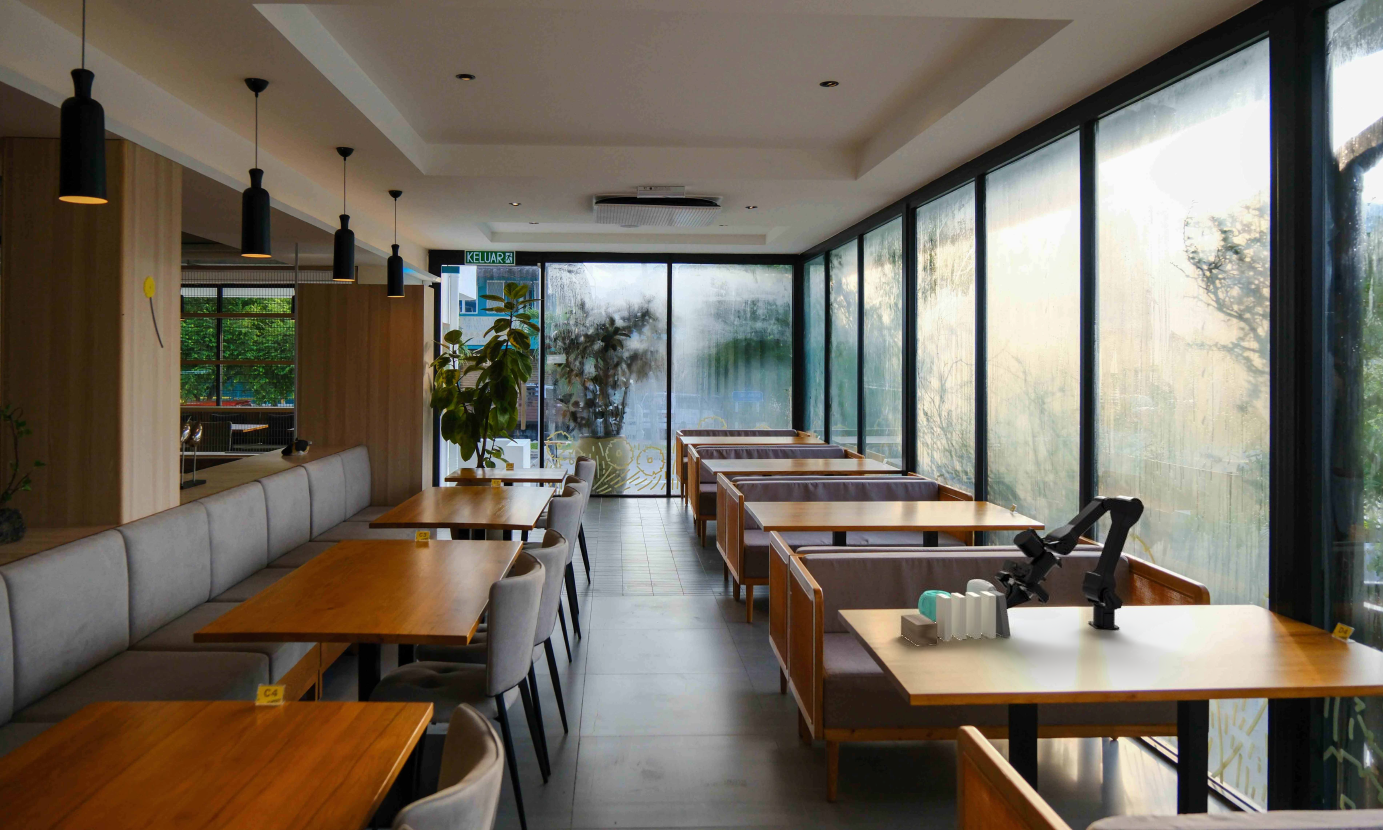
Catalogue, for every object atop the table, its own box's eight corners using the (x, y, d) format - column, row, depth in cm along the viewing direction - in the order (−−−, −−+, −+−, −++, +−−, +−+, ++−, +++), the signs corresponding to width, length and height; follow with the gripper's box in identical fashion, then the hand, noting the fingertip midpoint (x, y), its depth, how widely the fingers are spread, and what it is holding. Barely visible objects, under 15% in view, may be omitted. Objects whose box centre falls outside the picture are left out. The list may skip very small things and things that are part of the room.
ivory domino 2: (957, 634, 238) (957, 592, 238) (966, 639, 233) (966, 596, 233) (950, 634, 238) (950, 593, 238) (959, 640, 233) (959, 597, 233)
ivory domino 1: (942, 635, 237) (942, 593, 237) (951, 640, 232) (951, 597, 232) (936, 635, 237) (936, 593, 237) (944, 641, 232) (944, 598, 232)
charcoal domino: (999, 630, 241) (994, 590, 240) (1010, 635, 236) (1005, 594, 235) (993, 632, 240) (988, 591, 239) (1004, 637, 235) (998, 595, 235)
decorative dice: (956, 620, 253) (956, 594, 253) (938, 624, 249) (938, 597, 248) (935, 614, 260) (935, 588, 259) (917, 618, 255) (917, 592, 255)
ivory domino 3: (971, 633, 239) (972, 591, 239) (981, 638, 234) (981, 596, 234) (965, 634, 239) (965, 592, 238) (974, 639, 234) (974, 596, 233)
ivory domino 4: (986, 632, 240) (986, 591, 240) (995, 637, 235) (996, 595, 235) (979, 633, 240) (980, 591, 239) (989, 638, 235) (989, 595, 234)
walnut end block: (920, 634, 239) (920, 613, 239) (937, 644, 229) (937, 623, 229) (900, 635, 238) (901, 615, 238) (916, 645, 228) (916, 624, 228)
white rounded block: (964, 617, 256) (964, 577, 256) (976, 615, 258) (976, 576, 257) (987, 626, 247) (987, 584, 246) (999, 624, 248) (999, 583, 248)
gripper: (1000, 543, 248) (966, 582, 245) (1040, 555, 230) (1004, 597, 227) (1023, 568, 250) (990, 607, 248) (1065, 582, 232) (1029, 624, 229)
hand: (1002, 608), depth 238 cm, fingers closed
